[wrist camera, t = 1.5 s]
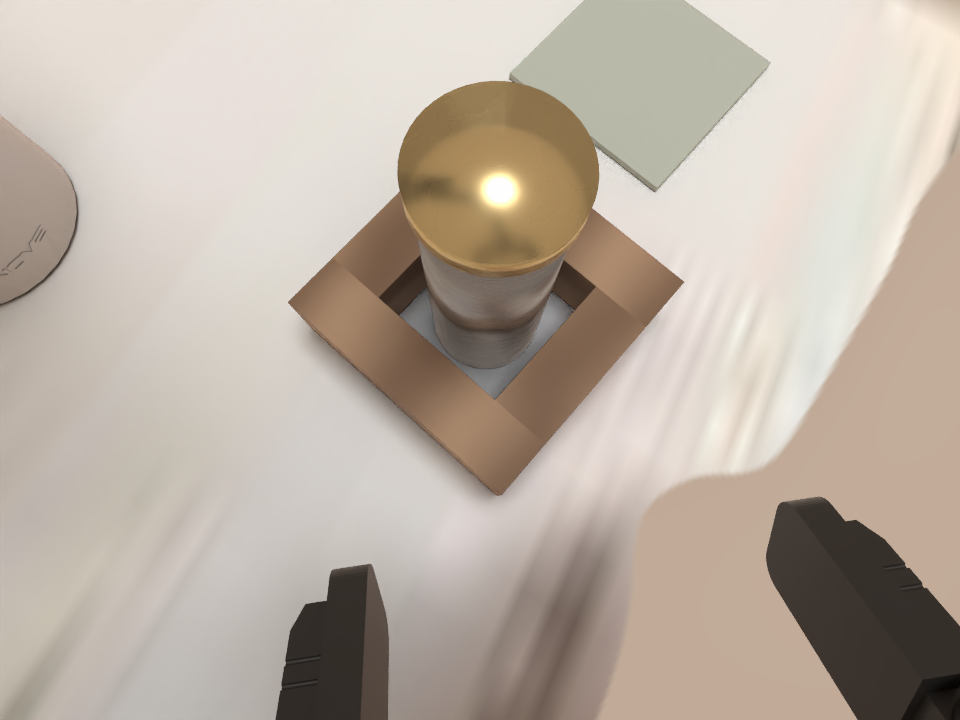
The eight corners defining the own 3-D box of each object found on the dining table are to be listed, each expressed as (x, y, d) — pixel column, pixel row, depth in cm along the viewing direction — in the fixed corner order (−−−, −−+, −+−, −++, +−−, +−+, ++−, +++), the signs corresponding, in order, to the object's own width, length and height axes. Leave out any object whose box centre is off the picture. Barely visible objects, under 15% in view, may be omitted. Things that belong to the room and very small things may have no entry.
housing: (311, 328, 30) (287, 302, 26) (475, 162, 32) (476, 115, 28) (496, 495, 28) (501, 495, 24) (656, 309, 30) (684, 282, 26)
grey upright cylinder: (407, 323, 30) (355, 175, 16) (480, 246, 31) (489, 46, 17) (490, 395, 29) (508, 305, 16) (562, 314, 30) (639, 162, 16)
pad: (509, 78, 33) (509, 73, 33) (624, -36, 35) (626, -42, 34) (654, 191, 32) (657, 187, 31) (767, 67, 33) (770, 62, 33)
